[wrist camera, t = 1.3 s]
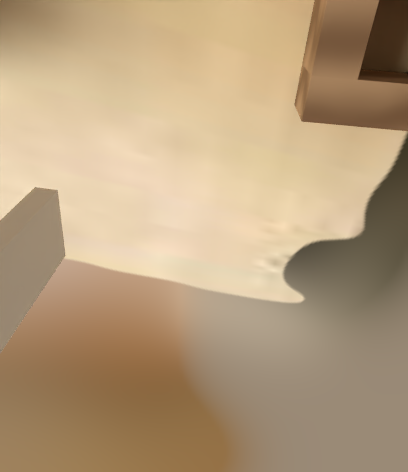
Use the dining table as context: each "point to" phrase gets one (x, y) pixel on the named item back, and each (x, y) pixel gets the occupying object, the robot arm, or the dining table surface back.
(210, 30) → the dining table surface
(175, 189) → the dining table surface
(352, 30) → the seat block
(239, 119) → the dining table surface
